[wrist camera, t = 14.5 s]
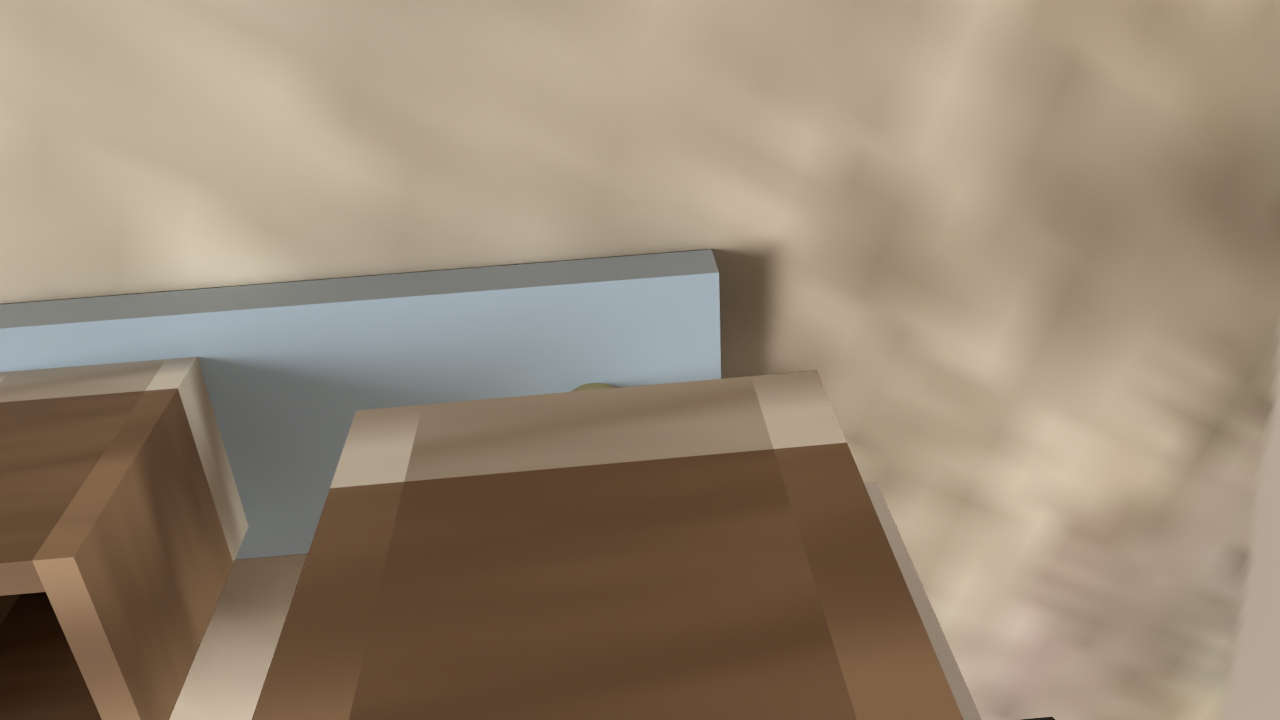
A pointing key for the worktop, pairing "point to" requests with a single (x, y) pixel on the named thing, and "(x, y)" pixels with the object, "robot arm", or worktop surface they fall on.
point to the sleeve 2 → (604, 566)
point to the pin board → (383, 354)
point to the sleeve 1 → (109, 537)
